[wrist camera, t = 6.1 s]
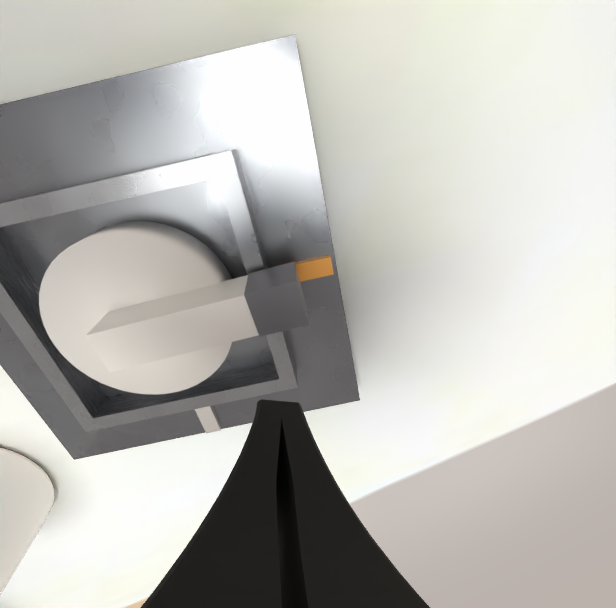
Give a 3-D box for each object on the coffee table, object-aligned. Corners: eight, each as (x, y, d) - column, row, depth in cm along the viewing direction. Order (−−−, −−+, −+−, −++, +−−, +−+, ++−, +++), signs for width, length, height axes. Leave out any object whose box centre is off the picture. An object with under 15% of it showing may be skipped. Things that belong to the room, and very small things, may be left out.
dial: (117, 383, 19) (80, 442, 15) (29, 246, 15) (-48, 282, 12) (316, 334, 18) (325, 383, 15) (274, 181, 15) (273, 197, 11)
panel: (-136, 144, 14) (-223, 147, 12) (293, 42, 13) (296, 22, 11) (84, 443, 22) (60, 481, 20) (355, 386, 22) (365, 418, 19)
